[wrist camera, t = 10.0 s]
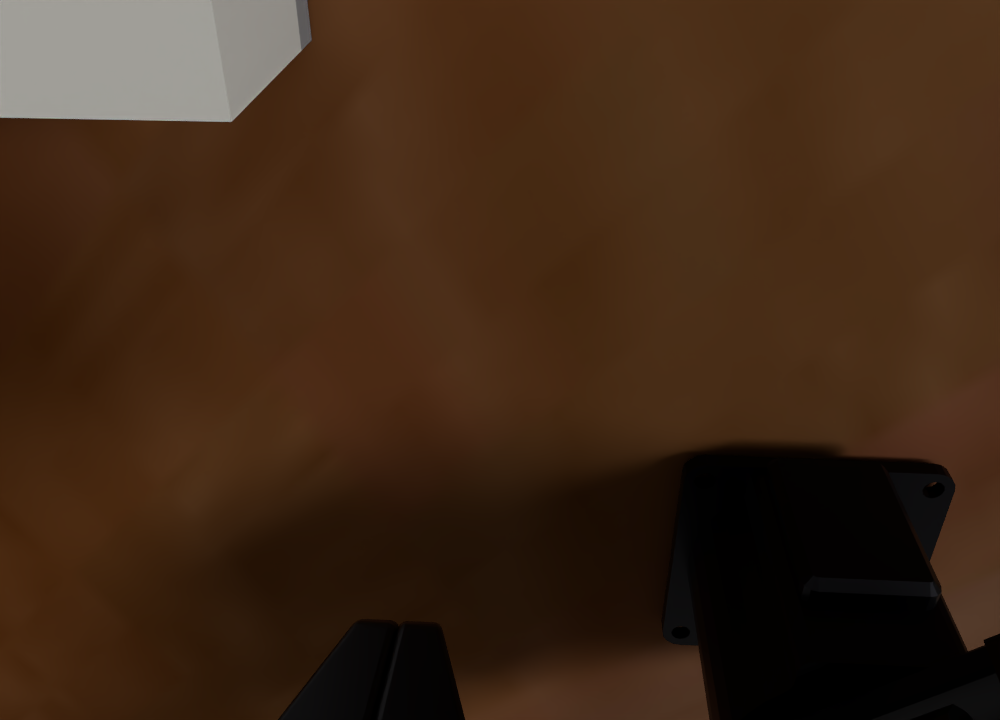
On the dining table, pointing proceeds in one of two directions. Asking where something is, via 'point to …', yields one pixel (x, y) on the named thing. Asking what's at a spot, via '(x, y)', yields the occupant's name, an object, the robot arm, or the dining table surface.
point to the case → (144, 56)
